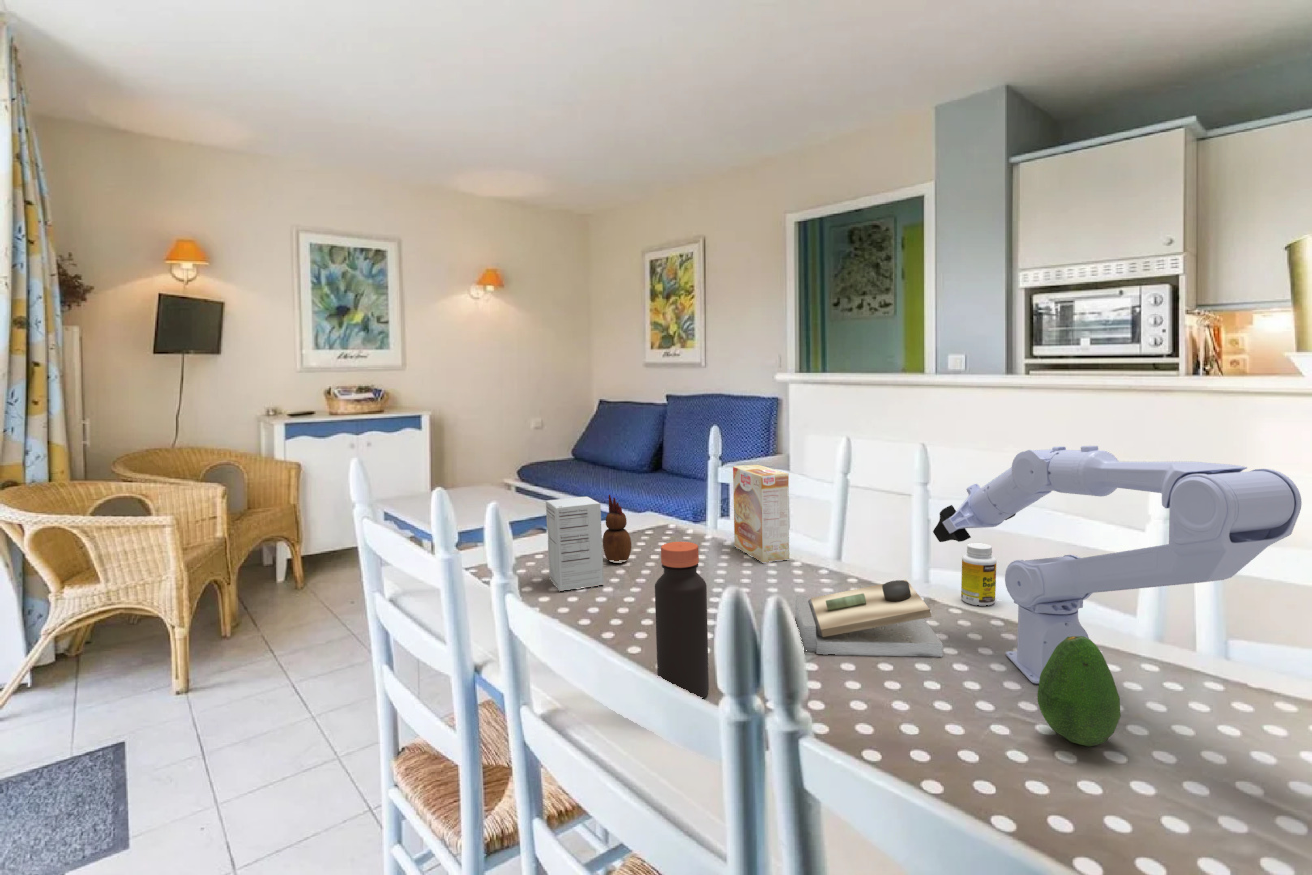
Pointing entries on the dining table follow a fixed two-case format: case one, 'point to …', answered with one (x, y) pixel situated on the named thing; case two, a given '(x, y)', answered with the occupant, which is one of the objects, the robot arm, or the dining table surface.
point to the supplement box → (574, 542)
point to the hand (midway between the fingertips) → (955, 527)
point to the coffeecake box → (761, 512)
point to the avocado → (1079, 693)
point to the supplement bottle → (978, 575)
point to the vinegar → (682, 619)
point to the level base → (869, 637)
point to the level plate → (867, 608)
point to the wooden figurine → (616, 534)
